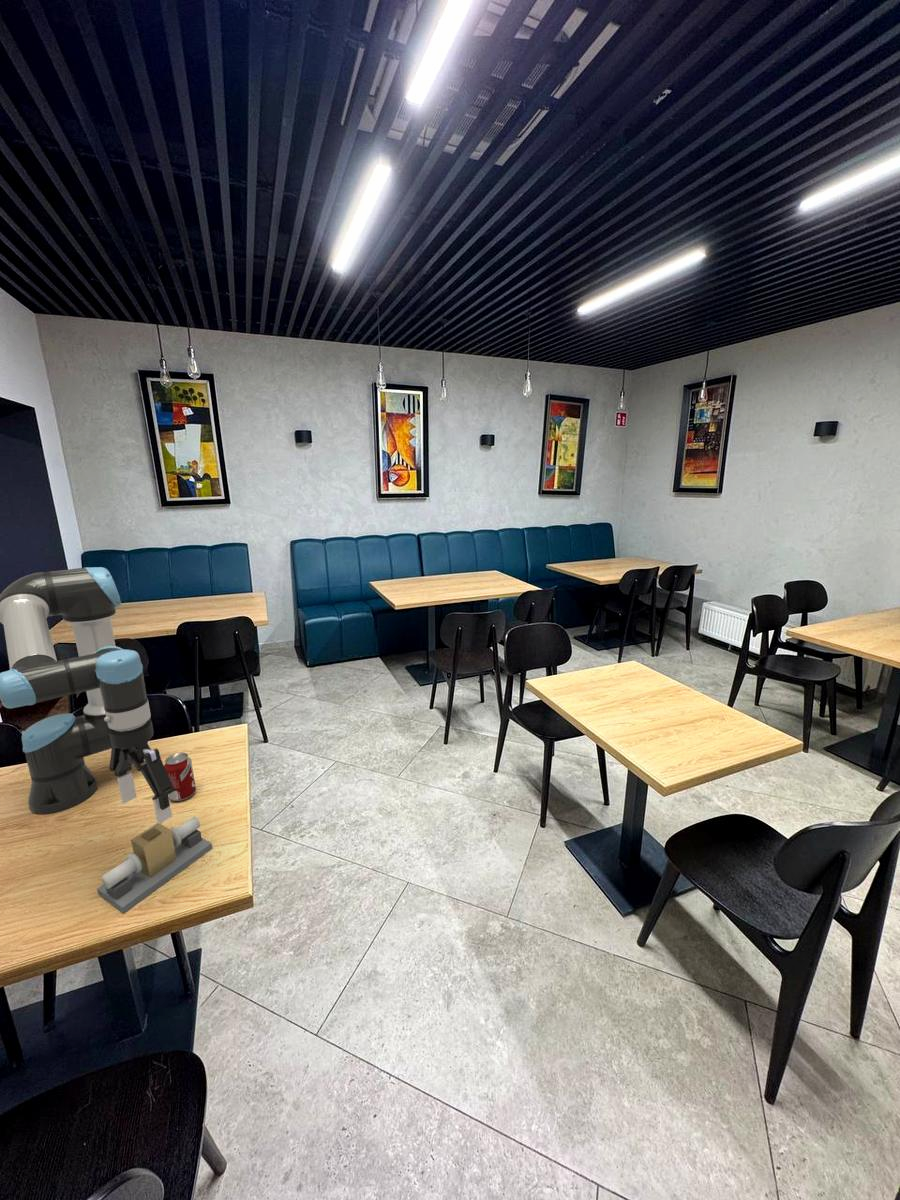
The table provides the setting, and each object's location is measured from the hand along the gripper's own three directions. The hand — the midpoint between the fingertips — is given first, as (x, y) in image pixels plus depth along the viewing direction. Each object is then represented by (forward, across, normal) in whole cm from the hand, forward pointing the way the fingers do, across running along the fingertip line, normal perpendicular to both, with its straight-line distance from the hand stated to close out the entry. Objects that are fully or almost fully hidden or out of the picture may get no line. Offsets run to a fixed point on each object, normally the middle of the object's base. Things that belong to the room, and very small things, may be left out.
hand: (146, 809), depth 102 cm
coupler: (+14, 0, 0) cm, 14 cm away
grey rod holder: (+16, +1, 0) cm, 16 cm away
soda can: (+16, -20, +19) cm, 32 cm away
